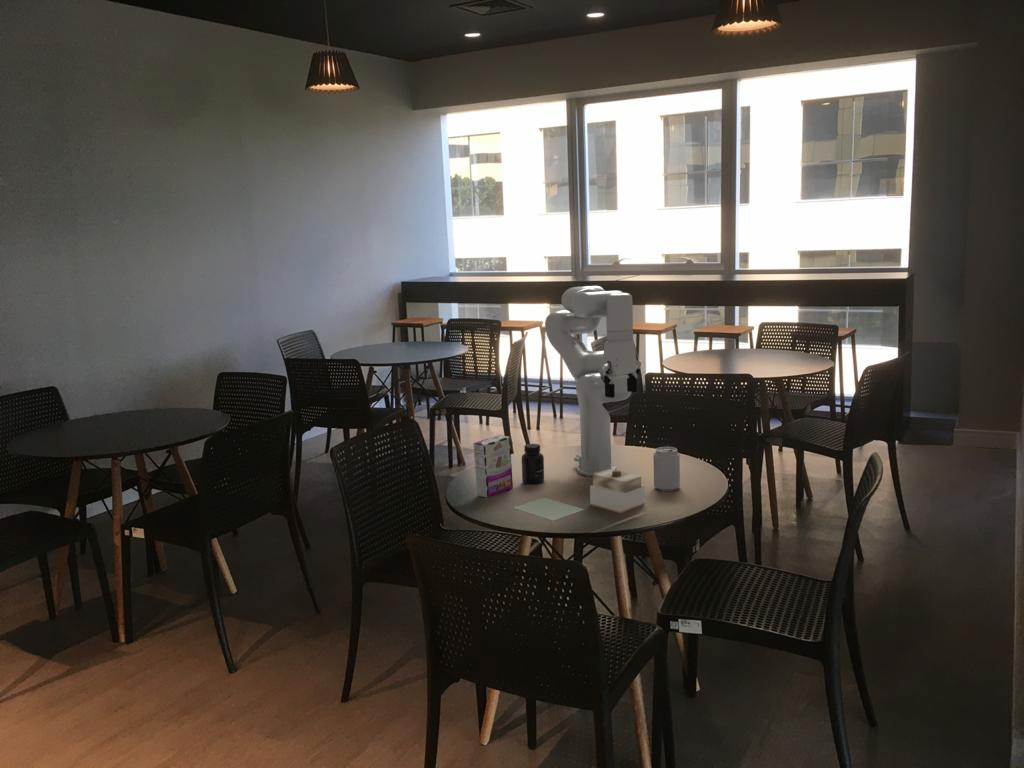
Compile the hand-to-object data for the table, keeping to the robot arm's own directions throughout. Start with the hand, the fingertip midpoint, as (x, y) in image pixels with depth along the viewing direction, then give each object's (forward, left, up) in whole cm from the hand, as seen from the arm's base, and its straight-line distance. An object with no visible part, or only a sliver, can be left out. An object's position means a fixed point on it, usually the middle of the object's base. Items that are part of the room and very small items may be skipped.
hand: (621, 394), depth 244 cm
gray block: (+10, -14, -28) cm, 33 cm away
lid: (+10, -14, -22) cm, 28 cm away
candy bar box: (-26, -28, -28) cm, 48 cm away
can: (+10, +8, -28) cm, 31 cm away
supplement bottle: (-24, -14, -28) cm, 40 cm away
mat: (-2, -29, -28) cm, 41 cm away
